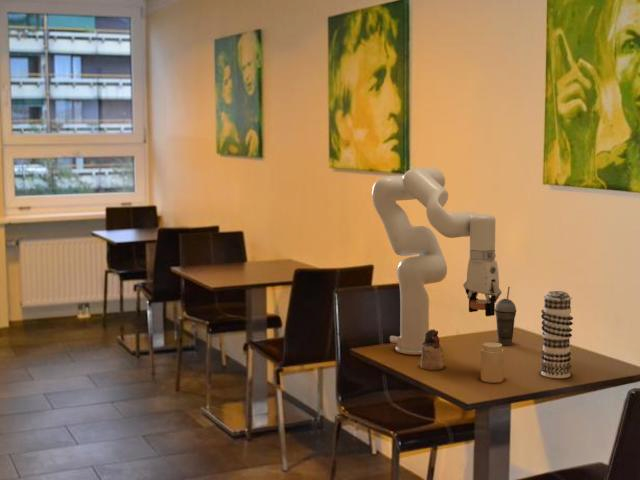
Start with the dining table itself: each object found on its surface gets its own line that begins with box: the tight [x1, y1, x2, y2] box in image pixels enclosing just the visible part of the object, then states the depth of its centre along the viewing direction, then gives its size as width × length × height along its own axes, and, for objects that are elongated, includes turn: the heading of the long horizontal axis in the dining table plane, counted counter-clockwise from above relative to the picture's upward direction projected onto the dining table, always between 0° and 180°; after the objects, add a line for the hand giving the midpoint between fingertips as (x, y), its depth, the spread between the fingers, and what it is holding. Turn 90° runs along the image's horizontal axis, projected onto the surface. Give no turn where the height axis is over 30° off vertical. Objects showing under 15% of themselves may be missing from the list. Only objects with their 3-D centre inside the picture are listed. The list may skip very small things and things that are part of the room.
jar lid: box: [470, 298, 487, 311], centre depth 271 cm, size 7×7×2 cm
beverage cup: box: [495, 286, 517, 346], centre depth 306 cm, size 7×7×20 cm
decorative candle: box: [540, 290, 574, 379], centre depth 267 cm, size 9×9×25 cm
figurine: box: [419, 328, 445, 371], centre depth 277 cm, size 7×7×12 cm
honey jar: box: [480, 341, 505, 384], centre depth 263 cm, size 7×7×11 cm
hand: (481, 313), depth 271 cm, fingers closed on jar lid, 6 cm apart
